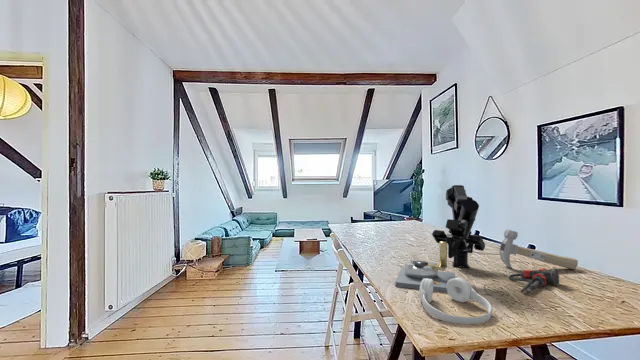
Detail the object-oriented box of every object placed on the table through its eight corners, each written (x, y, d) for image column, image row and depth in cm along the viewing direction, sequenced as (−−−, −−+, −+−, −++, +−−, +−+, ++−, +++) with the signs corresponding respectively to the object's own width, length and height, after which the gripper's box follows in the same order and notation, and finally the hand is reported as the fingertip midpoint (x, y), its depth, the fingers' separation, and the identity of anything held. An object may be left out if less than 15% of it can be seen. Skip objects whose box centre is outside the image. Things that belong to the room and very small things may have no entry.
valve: (518, 278, 131) (563, 281, 120) (495, 297, 113) (546, 303, 102) (515, 262, 131) (560, 264, 120) (492, 279, 114) (542, 282, 103)
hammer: (574, 245, 139) (503, 228, 142) (582, 247, 134) (509, 230, 137) (565, 280, 140) (495, 263, 142) (573, 284, 135) (500, 265, 137)
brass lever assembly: (400, 275, 121) (400, 240, 121) (410, 268, 131) (410, 235, 131) (442, 283, 112) (443, 245, 112) (450, 274, 122) (450, 239, 122)
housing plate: (401, 271, 133) (401, 266, 133) (454, 276, 126) (454, 272, 126) (395, 286, 114) (395, 281, 114) (457, 293, 107) (457, 288, 107)
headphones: (410, 274, 103) (438, 309, 83) (466, 273, 104) (506, 307, 85) (409, 295, 104) (435, 334, 84) (464, 293, 106) (502, 332, 86)
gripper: (434, 209, 131) (418, 240, 124) (482, 213, 117) (467, 248, 110) (444, 227, 136) (430, 257, 129) (491, 233, 122) (477, 267, 115)
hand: (449, 257), depth 120 cm, fingers closed
